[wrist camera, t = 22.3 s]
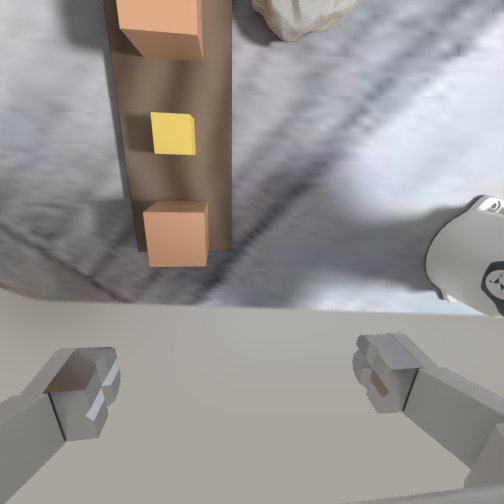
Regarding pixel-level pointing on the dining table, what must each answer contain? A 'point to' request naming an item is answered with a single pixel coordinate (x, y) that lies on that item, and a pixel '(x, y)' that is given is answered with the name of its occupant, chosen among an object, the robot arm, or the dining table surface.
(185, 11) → the peach block
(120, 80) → the board
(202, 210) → the wooden block
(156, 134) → the cube
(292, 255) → the dining table surface
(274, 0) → the stone
